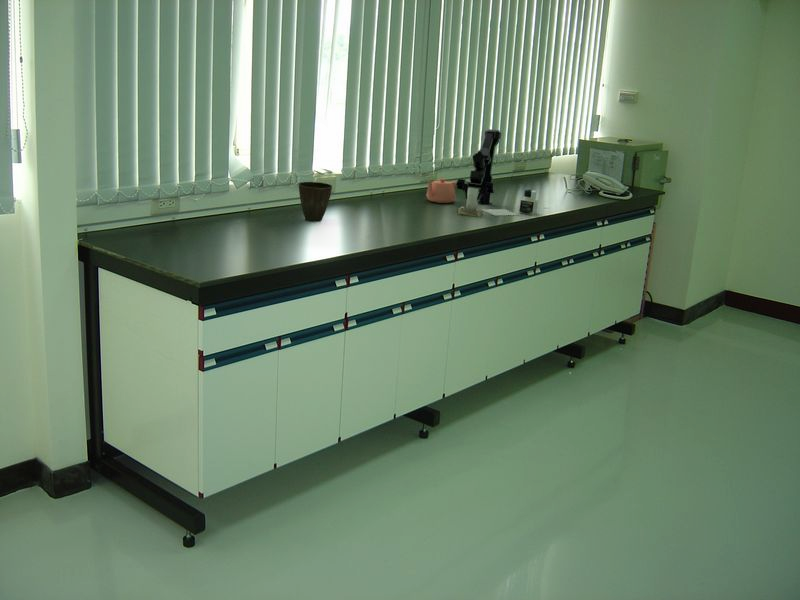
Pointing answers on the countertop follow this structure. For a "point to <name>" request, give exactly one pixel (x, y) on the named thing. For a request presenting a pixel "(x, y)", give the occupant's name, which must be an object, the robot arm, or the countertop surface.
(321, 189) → the plant pot
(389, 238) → the countertop surface
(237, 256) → the countertop surface
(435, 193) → the teapot
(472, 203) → the pale grey rounded piece
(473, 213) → the holder
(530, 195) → the medicine bottle
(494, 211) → the mat
